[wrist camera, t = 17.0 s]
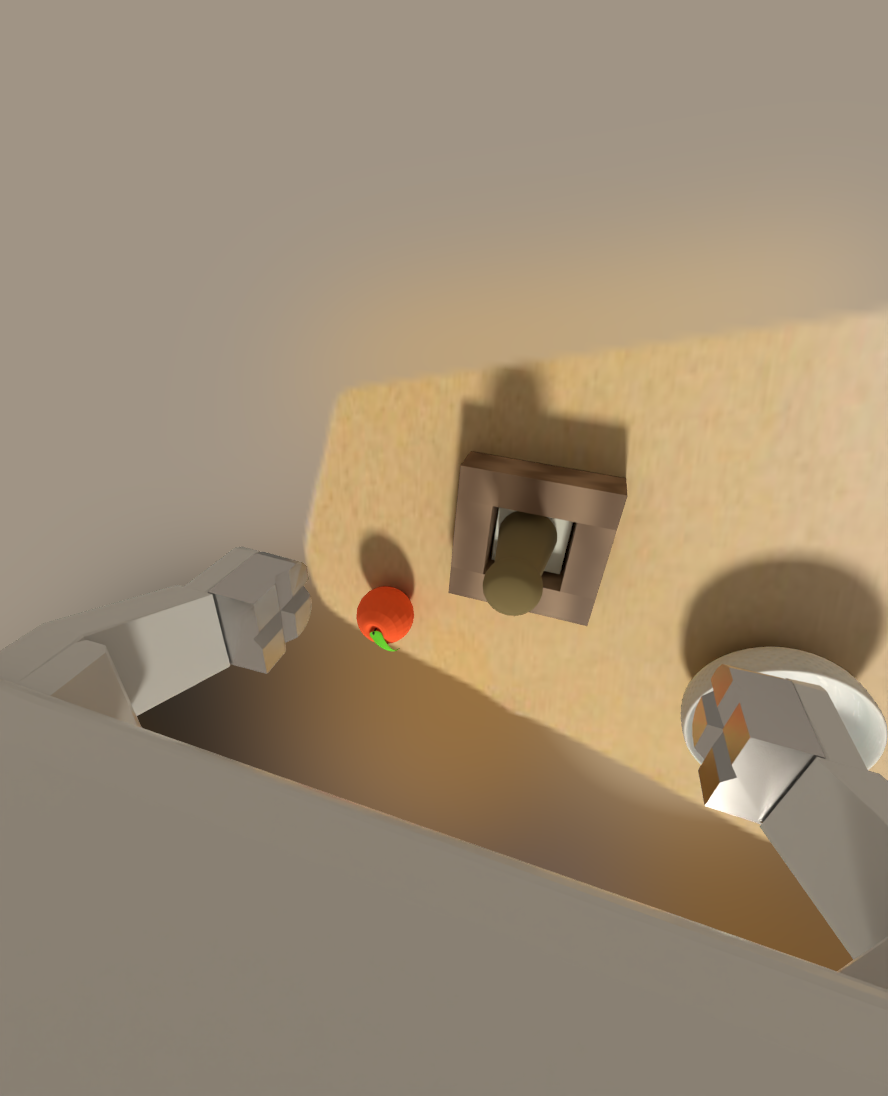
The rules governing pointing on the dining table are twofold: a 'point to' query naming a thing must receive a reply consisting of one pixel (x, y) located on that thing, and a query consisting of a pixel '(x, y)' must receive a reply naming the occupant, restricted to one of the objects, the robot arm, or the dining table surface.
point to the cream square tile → (560, 548)
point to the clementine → (385, 616)
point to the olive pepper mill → (519, 563)
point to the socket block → (545, 494)
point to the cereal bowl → (805, 667)
